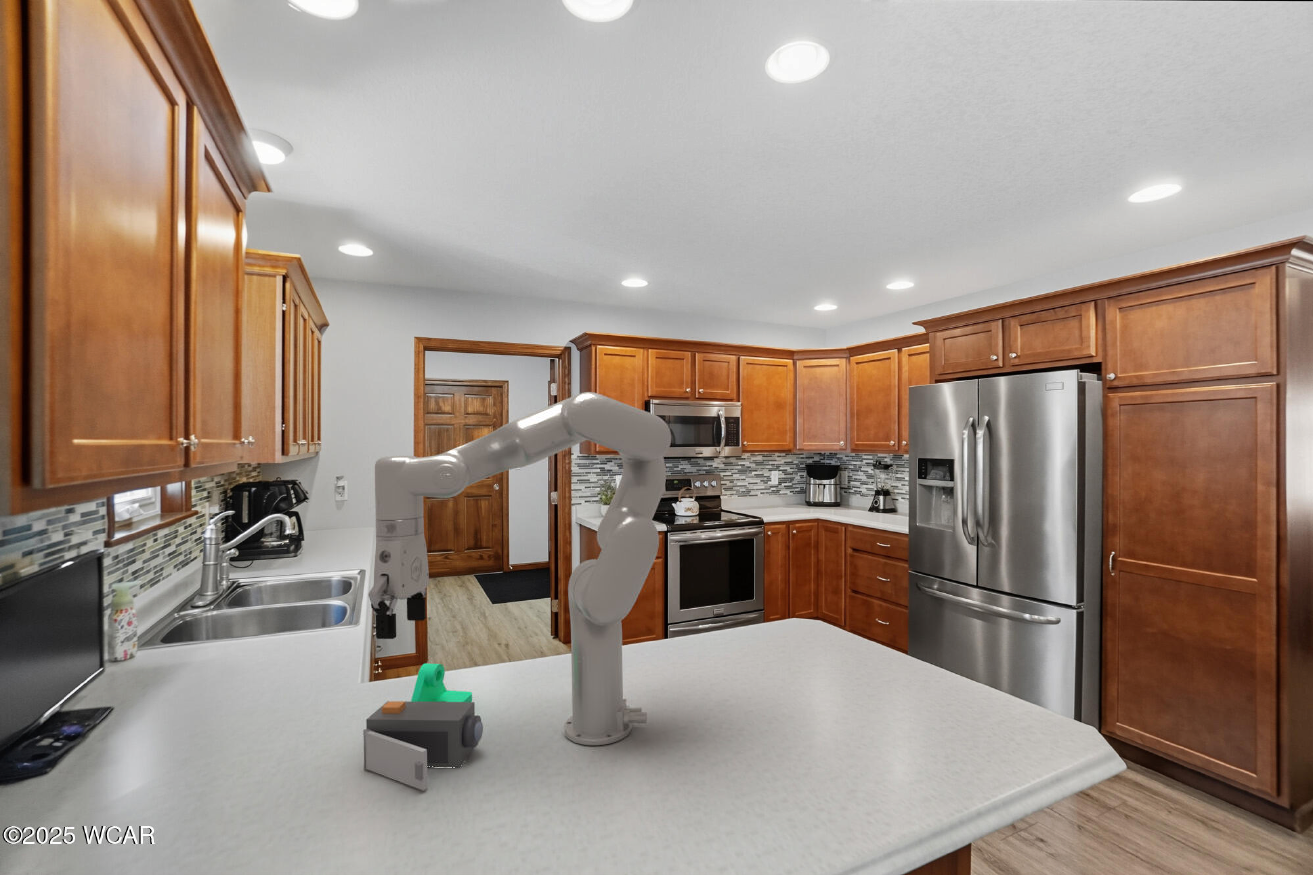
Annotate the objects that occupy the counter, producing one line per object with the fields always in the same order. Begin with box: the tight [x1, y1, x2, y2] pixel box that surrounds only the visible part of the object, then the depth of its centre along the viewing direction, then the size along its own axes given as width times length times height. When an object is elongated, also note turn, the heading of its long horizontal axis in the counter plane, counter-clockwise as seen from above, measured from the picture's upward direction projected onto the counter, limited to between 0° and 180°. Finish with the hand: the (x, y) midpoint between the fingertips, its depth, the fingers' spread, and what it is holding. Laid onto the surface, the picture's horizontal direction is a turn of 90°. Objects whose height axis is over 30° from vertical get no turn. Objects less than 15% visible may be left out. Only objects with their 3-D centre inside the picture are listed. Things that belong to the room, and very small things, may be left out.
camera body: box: [365, 700, 484, 769], centre depth 104 cm, size 18×7×9 cm, turn 86°
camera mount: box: [410, 662, 473, 702], centre depth 120 cm, size 12×8×10 cm, turn 170°
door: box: [362, 728, 428, 791], centre depth 97 cm, size 14×1×6 cm, turn 61°
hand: (402, 628), depth 102 cm, fingers open, 9 cm apart
